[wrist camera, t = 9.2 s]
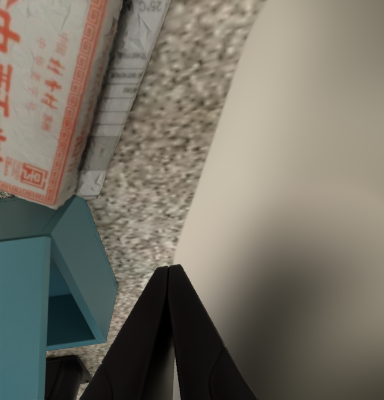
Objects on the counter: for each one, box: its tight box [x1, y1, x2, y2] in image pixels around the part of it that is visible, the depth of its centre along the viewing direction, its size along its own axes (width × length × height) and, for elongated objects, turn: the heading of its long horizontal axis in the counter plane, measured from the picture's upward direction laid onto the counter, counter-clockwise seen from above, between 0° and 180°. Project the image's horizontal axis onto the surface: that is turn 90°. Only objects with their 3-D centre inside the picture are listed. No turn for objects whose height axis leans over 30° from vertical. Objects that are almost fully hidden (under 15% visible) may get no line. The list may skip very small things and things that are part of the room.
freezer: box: [0, 194, 118, 351], centre depth 21 cm, size 12×11×6 cm
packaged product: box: [0, 0, 171, 210], centre depth 14 cm, size 18×5×10 cm
